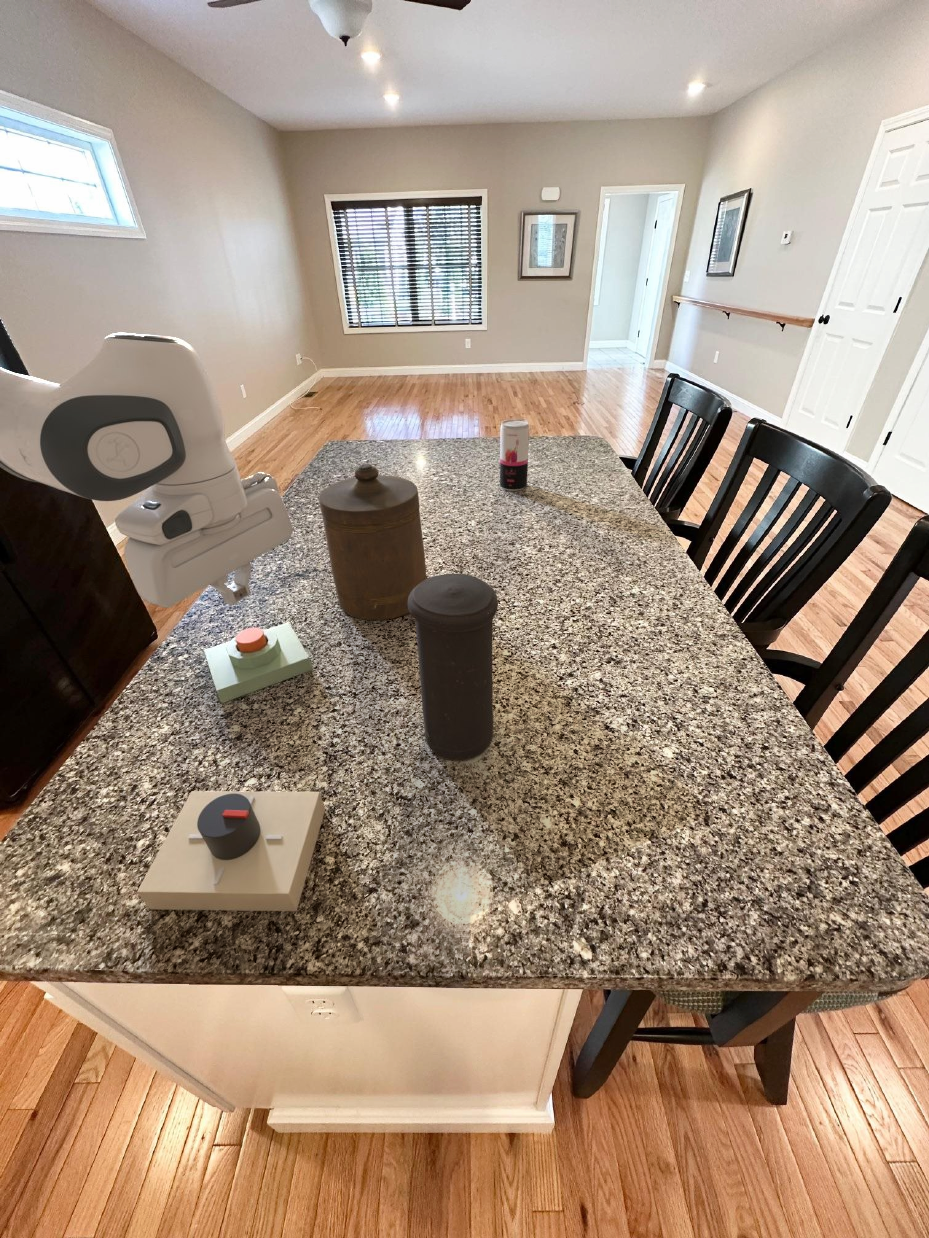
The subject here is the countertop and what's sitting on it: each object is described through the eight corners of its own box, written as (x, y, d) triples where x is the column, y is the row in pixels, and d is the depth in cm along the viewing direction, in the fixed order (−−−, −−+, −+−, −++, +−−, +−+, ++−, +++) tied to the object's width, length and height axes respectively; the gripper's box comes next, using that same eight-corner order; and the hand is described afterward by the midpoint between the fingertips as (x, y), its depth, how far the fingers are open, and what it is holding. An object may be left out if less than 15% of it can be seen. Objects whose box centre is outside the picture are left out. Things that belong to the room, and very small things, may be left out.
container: (478, 698, 65) (476, 559, 54) (509, 750, 58) (513, 602, 47) (413, 718, 63) (396, 576, 51) (436, 773, 56) (422, 624, 44)
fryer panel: (150, 909, 45) (135, 890, 43) (201, 809, 53) (190, 789, 51) (296, 911, 44) (288, 892, 42) (325, 809, 52) (319, 790, 51)
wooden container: (393, 565, 94) (378, 444, 82) (445, 595, 85) (438, 465, 73) (321, 595, 86) (292, 467, 74) (371, 633, 77) (347, 493, 65)
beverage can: (513, 493, 121) (515, 428, 113) (494, 486, 125) (494, 423, 117) (532, 486, 125) (535, 422, 116) (512, 479, 129) (514, 417, 120)
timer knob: (200, 859, 45) (185, 834, 43) (223, 814, 49) (210, 790, 47) (248, 861, 45) (236, 836, 43) (267, 816, 49) (257, 791, 46)
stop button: (242, 657, 68) (238, 646, 67) (236, 643, 70) (232, 632, 69) (269, 647, 69) (266, 637, 68) (263, 634, 72) (259, 624, 71)
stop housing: (221, 703, 66) (211, 680, 63) (208, 661, 73) (199, 639, 70) (312, 669, 71) (306, 647, 68) (292, 633, 78) (286, 612, 75)
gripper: (253, 463, 66) (279, 558, 74) (98, 526, 52) (151, 635, 60) (289, 470, 64) (312, 567, 72) (136, 538, 49) (186, 650, 57)
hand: (238, 599), depth 66 cm, fingers closed
